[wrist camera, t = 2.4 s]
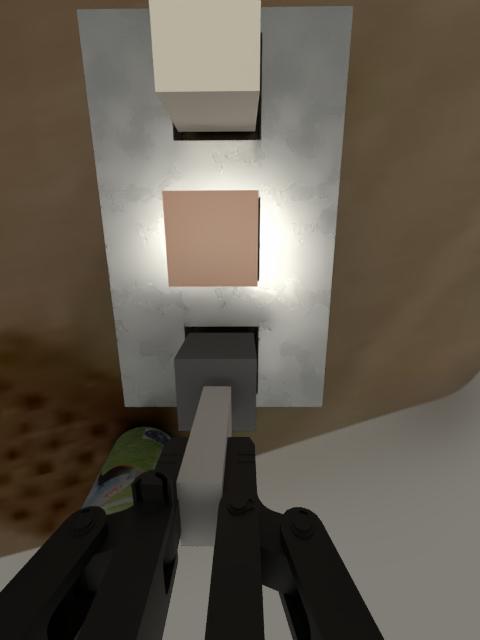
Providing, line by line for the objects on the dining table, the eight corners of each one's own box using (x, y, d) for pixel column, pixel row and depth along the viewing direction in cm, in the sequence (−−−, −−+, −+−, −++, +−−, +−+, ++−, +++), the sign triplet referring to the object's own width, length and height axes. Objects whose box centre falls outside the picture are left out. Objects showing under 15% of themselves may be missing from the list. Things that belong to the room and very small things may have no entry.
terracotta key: (185, 276, 20) (168, 286, 16) (182, 203, 19) (161, 190, 14) (254, 275, 20) (257, 286, 16) (254, 203, 19) (258, 190, 14)
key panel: (137, 388, 26) (125, 406, 24) (101, 43, 20) (76, 9, 17) (313, 388, 26) (321, 406, 23) (336, 40, 20) (353, 6, 17)
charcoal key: (192, 390, 23) (178, 430, 18) (189, 332, 22) (173, 359, 17) (252, 390, 23) (255, 430, 18) (253, 332, 22) (256, 358, 17)
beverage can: (105, 447, 28) (9, 591, 17) (154, 400, 27) (86, 521, 15) (154, 485, 29) (96, 644, 18) (203, 441, 28) (176, 583, 16)
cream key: (178, 131, 18) (155, 91, 13) (173, 38, 17) (145, -43, 12) (255, 131, 18) (259, 90, 13) (255, 37, 17) (261, -45, 12)
